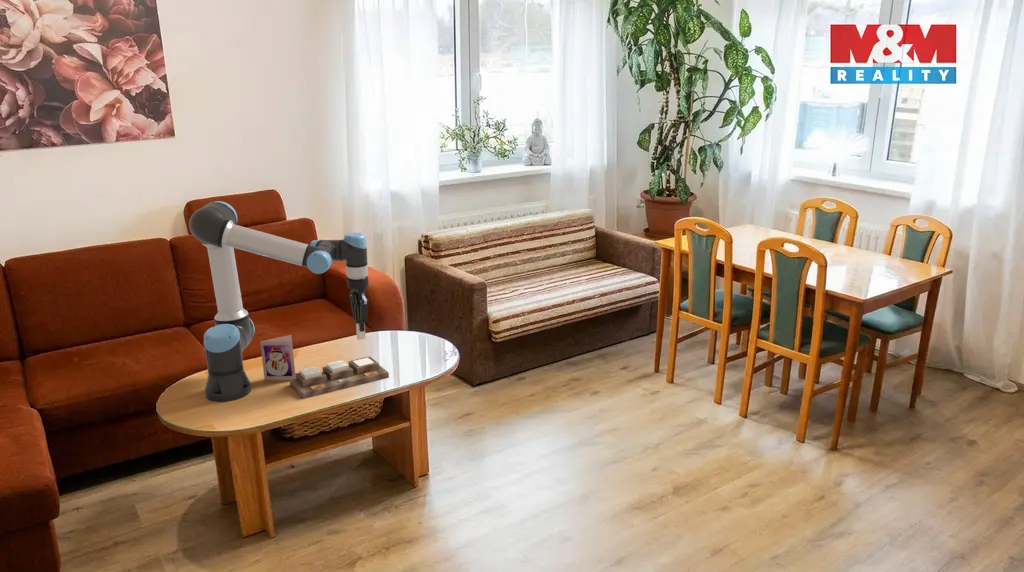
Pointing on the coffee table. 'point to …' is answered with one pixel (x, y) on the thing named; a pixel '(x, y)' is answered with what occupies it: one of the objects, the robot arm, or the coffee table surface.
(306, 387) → the button board
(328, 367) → the button middle
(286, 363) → the greeting card
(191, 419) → the coffee table surface
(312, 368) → the button left
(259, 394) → the coffee table surface
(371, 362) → the button right
